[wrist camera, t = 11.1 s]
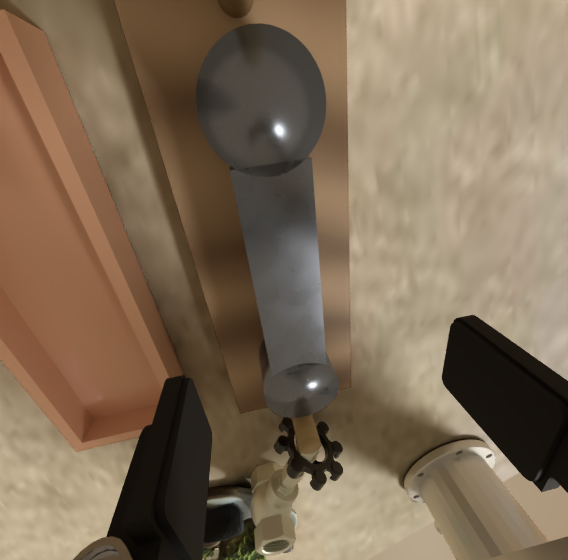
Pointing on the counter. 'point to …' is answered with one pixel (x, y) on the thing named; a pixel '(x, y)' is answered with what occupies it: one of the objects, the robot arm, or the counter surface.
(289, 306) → the grey long knobbed bar
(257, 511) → the valve
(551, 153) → the counter surface
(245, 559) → the salad plate
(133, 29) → the board
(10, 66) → the slot holder
